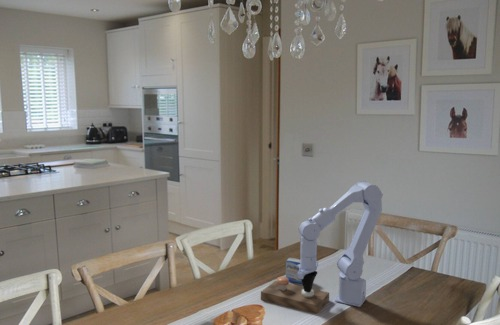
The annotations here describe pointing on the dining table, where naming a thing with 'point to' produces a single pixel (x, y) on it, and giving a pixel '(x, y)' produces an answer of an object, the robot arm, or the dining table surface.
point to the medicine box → (292, 270)
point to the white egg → (307, 294)
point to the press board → (295, 297)
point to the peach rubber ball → (282, 282)
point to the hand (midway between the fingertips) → (307, 291)
